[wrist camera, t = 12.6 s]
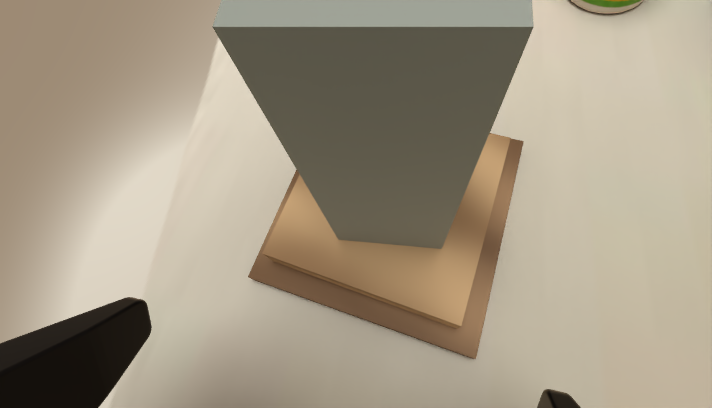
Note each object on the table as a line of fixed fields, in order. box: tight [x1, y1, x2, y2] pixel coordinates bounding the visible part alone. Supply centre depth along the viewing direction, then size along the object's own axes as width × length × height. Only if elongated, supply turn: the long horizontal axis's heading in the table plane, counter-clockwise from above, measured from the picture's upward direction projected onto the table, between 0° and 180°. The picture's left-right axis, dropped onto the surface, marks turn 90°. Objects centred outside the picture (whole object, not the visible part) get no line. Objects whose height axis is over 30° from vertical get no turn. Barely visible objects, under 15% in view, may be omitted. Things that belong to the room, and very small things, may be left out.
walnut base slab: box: [248, 139, 523, 359], centre depth 21 cm, size 12×12×2 cm
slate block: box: [213, 0, 533, 249], centre depth 13 cm, size 5×5×13 cm
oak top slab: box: [262, 133, 511, 329], centre depth 19 cm, size 10×10×2 cm
